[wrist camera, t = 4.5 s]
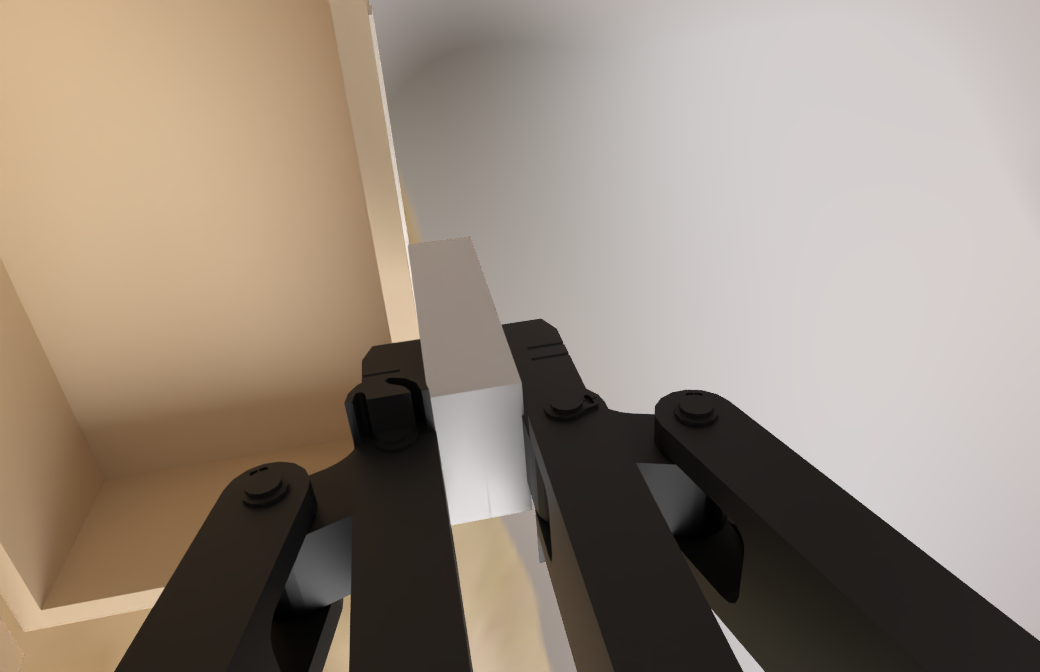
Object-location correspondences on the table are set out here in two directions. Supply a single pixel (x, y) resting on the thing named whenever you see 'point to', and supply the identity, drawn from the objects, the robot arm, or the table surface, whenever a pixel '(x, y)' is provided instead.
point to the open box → (180, 273)
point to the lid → (9, 651)
